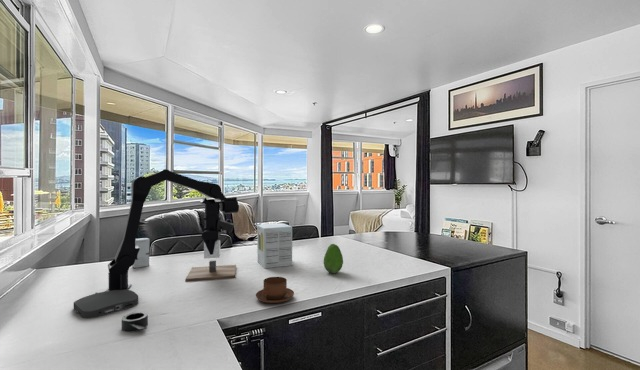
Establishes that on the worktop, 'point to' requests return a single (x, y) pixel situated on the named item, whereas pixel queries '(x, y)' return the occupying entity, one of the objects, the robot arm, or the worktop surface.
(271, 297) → the cup and saucer
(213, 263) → the post stand
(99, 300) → the media streaming box
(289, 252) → the supplement box
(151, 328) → the worktop surface
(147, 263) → the skincare box
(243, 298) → the worktop surface
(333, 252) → the avocado
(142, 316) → the duct tape
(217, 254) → the white cube
